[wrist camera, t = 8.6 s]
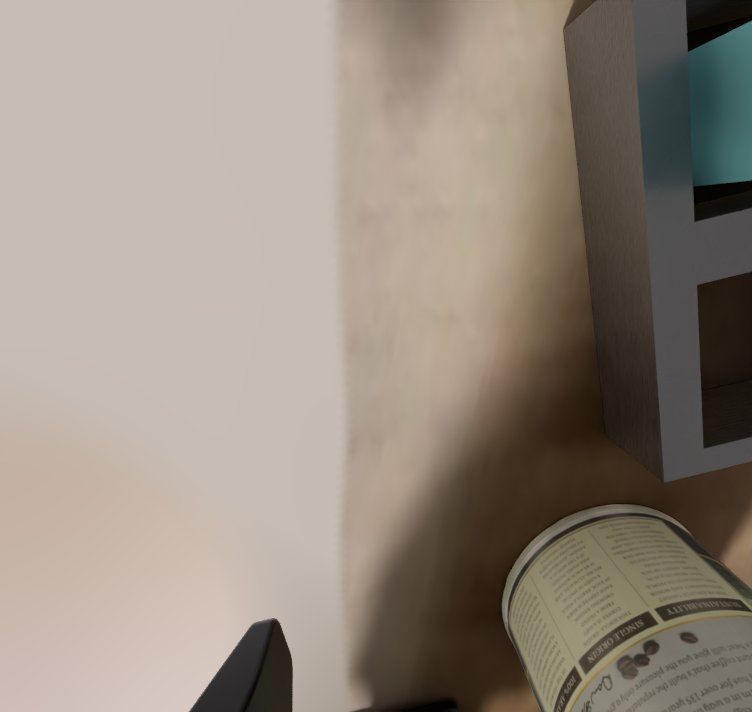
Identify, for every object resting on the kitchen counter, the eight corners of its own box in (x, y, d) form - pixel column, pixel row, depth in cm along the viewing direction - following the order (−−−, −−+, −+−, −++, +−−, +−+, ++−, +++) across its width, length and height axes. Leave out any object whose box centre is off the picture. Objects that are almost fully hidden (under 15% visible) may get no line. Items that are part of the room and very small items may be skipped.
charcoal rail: (802, 386, 21) (915, 427, 17) (605, 435, 21) (669, 487, 17) (813, -32, 17) (970, -117, 12) (563, 29, 17) (636, -35, 12)
